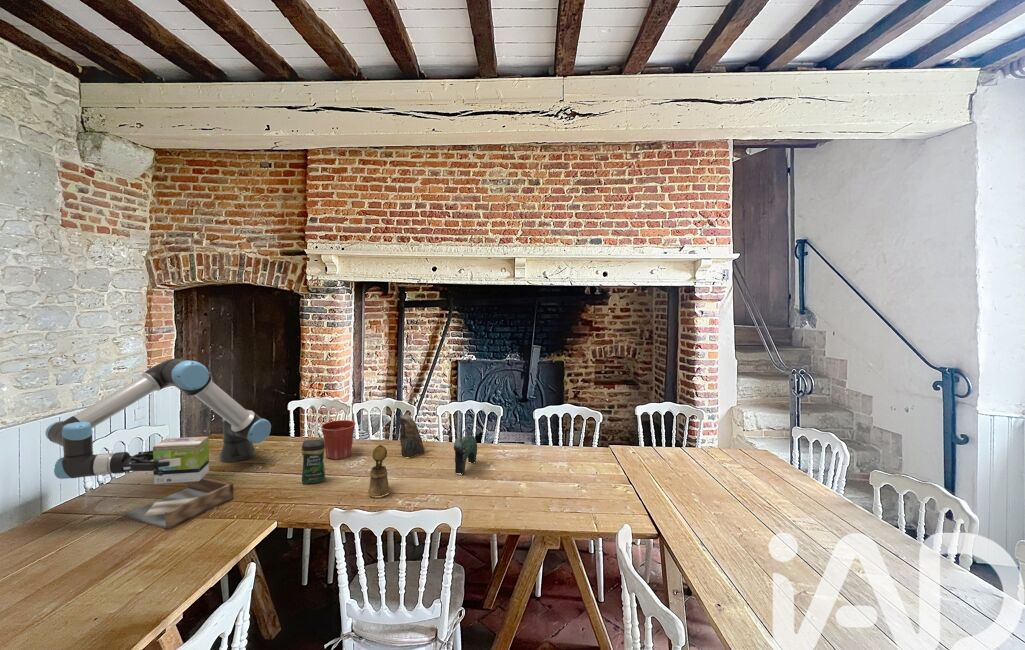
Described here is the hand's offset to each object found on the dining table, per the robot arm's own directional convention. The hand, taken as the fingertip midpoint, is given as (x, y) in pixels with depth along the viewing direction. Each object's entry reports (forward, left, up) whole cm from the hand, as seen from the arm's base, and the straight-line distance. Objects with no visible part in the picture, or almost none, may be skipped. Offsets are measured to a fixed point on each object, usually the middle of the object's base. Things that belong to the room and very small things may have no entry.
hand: (185, 456), depth 170 cm
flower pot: (-64, +18, -20) cm, 70 cm away
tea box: (+1, -1, -9) cm, 9 cm away
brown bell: (-38, +61, -20) cm, 75 cm away
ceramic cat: (-73, +85, -20) cm, 114 cm away
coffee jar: (-36, +28, -20) cm, 50 cm away
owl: (-80, +51, -20) cm, 97 cm away
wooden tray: (+1, -2, -20) cm, 20 cm away
